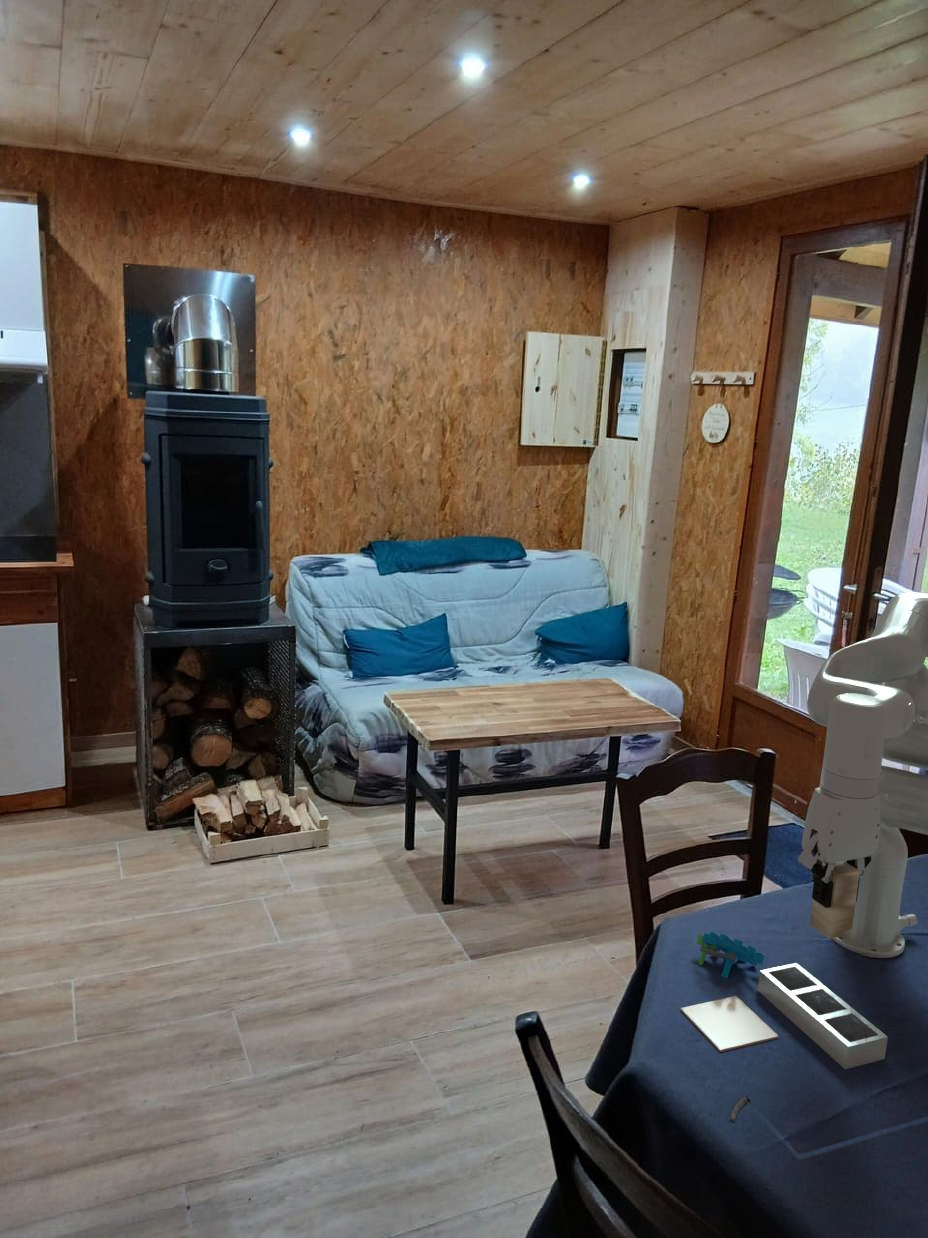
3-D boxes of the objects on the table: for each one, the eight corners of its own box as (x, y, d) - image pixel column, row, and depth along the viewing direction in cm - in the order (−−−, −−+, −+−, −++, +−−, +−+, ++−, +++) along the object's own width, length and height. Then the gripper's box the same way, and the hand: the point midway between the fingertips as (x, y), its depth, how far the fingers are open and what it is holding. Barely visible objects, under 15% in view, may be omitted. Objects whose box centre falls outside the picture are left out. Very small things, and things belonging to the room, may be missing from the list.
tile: (735, 1000, 145) (736, 996, 145) (777, 1040, 136) (778, 1036, 136) (680, 1013, 142) (680, 1008, 142) (720, 1055, 133) (720, 1050, 132)
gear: (774, 963, 153) (753, 939, 147) (763, 998, 150) (742, 975, 144) (712, 945, 160) (690, 921, 154) (701, 978, 158) (678, 955, 152)
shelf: (793, 985, 150) (796, 963, 149) (884, 1062, 132) (887, 1037, 132) (757, 993, 147) (760, 970, 146) (844, 1072, 130) (848, 1047, 129)
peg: (831, 920, 139) (839, 858, 137) (851, 934, 136) (859, 871, 133) (810, 925, 138) (817, 862, 136) (829, 939, 134) (837, 875, 132)
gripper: (875, 766, 138) (860, 880, 142) (783, 778, 132) (769, 897, 136) (916, 785, 131) (898, 904, 135) (820, 799, 125) (804, 923, 129)
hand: (834, 899), depth 136 cm, fingers closed on peg, 4 cm apart
